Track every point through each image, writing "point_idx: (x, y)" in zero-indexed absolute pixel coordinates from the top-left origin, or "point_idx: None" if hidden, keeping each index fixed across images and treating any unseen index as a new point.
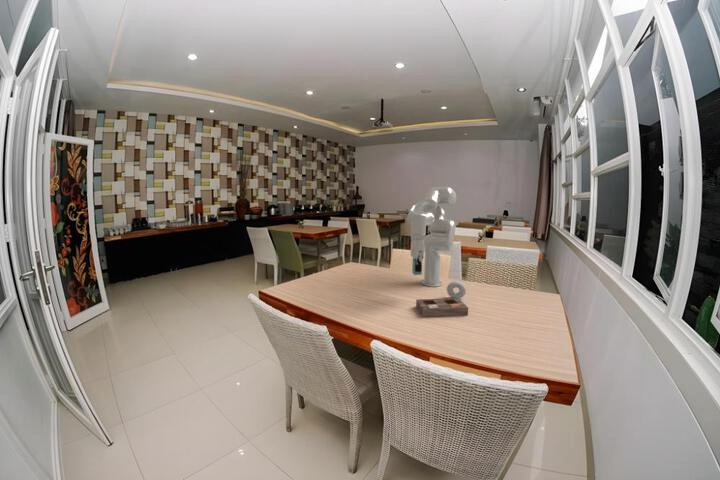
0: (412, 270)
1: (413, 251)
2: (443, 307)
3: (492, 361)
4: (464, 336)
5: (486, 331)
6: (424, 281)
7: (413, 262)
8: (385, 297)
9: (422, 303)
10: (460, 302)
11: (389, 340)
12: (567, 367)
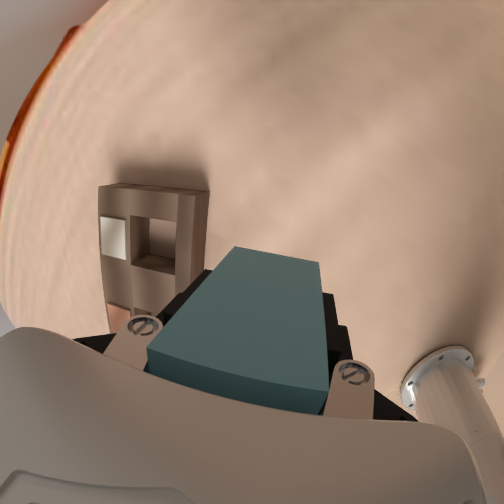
0: (314, 271)
1: (4, 499)
2: (107, 273)
3: (3, 243)
4: (41, 247)
5: (61, 308)
6: (454, 360)
7: (257, 329)
8: (365, 87)
9: (146, 206)
10: None
11: (51, 65)
12: (15, 325)
